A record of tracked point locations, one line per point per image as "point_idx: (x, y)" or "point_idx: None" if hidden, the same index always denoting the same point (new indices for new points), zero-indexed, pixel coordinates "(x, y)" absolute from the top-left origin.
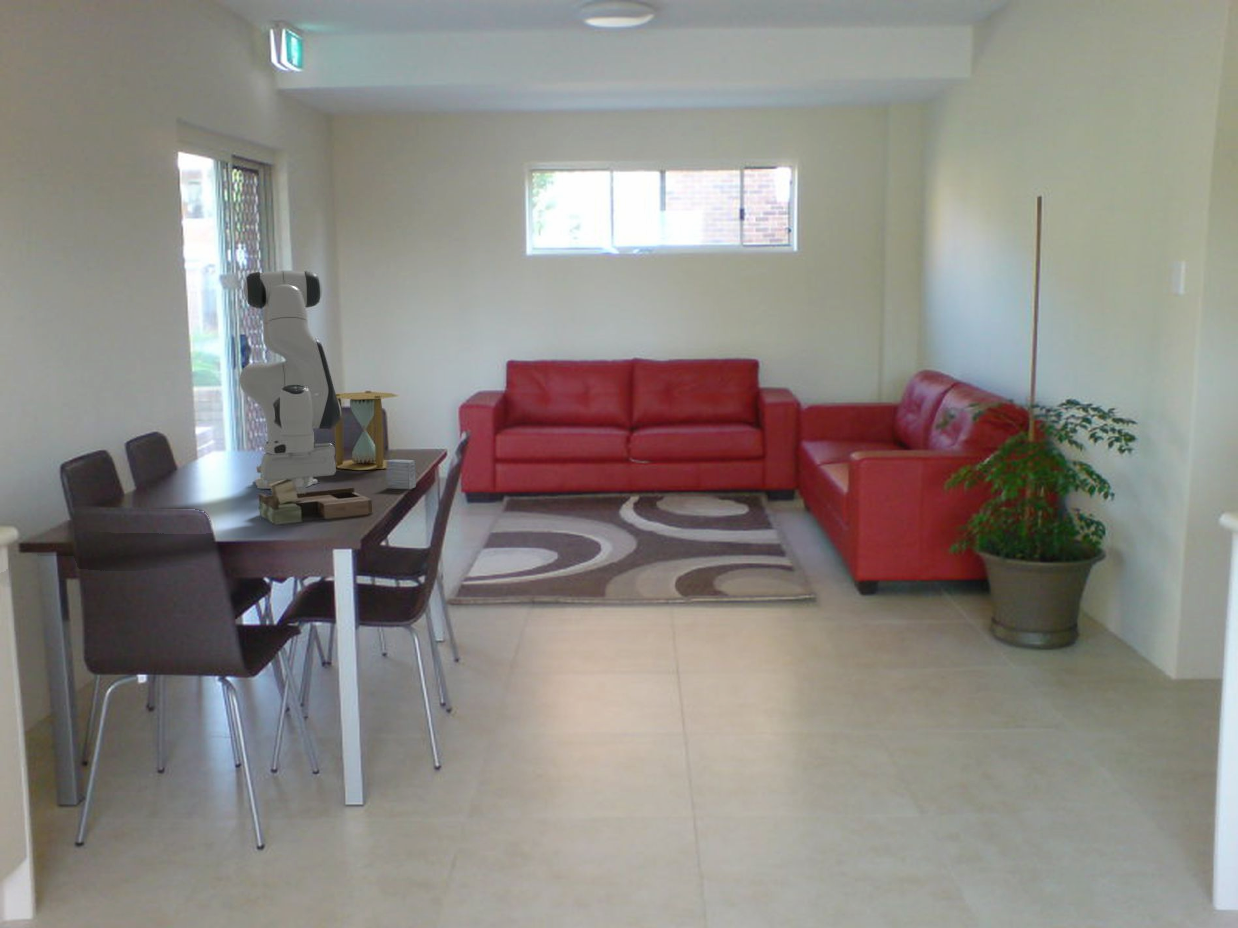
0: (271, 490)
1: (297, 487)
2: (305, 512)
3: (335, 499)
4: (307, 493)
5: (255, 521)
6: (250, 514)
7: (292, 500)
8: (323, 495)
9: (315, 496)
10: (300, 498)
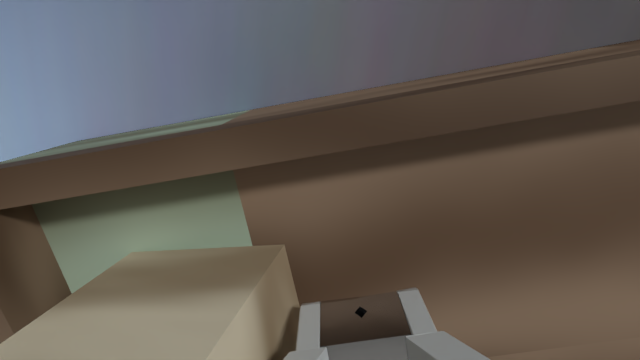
0: (19, 339)
1: (345, 357)
2: None
3: (637, 343)
4: (475, 124)
5: None
6: (5, 94)
7: (289, 261)
8: (628, 120)
9: (535, 145)
10: (372, 197)
